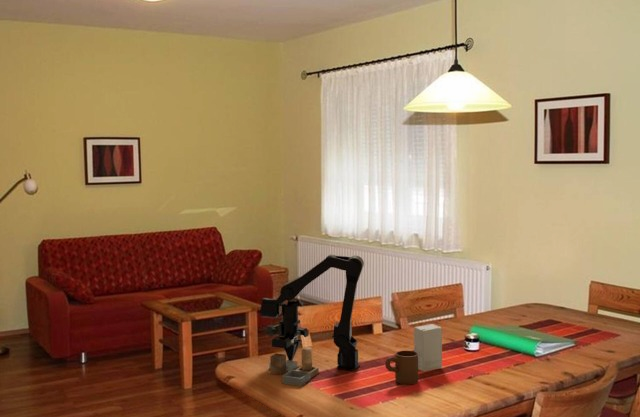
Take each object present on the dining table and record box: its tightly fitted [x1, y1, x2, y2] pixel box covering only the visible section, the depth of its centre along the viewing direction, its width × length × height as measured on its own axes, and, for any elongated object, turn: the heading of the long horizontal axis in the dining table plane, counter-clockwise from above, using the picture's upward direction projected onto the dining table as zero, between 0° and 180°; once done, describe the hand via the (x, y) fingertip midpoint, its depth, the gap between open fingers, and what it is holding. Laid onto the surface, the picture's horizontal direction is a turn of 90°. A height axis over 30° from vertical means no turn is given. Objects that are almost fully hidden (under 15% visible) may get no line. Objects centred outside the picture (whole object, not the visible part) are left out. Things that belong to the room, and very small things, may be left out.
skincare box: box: [413, 323, 443, 372], centre depth 241 cm, size 8×6×15 cm
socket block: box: [295, 365, 320, 379], centre depth 235 cm, size 6×6×2 cm
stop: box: [269, 352, 287, 376], centre depth 237 cm, size 4×4×6 cm
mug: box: [384, 350, 419, 386], centre depth 226 cm, size 12×8×9 cm, turn 116°
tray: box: [281, 369, 312, 387], centre depth 228 cm, size 7×7×2 cm
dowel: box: [300, 346, 313, 372], centre depth 235 cm, size 4×4×9 cm
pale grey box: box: [268, 359, 299, 373], centre depth 243 cm, size 8×6×2 cm
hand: (290, 360), depth 246 cm, fingers closed
